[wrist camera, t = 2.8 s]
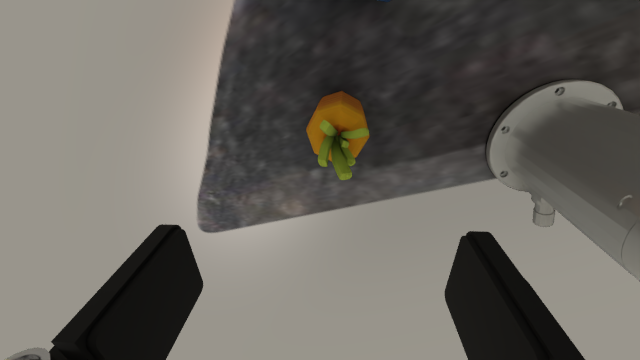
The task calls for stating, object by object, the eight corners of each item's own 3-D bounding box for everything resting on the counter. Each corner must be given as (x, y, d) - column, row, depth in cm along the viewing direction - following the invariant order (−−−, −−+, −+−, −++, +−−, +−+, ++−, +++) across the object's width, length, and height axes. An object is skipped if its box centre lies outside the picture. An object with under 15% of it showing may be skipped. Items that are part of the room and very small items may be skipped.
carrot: (319, 75, 28) (297, 115, 15) (366, 80, 28) (383, 124, 15) (316, 121, 31) (294, 189, 18) (359, 125, 31) (369, 197, 18)
